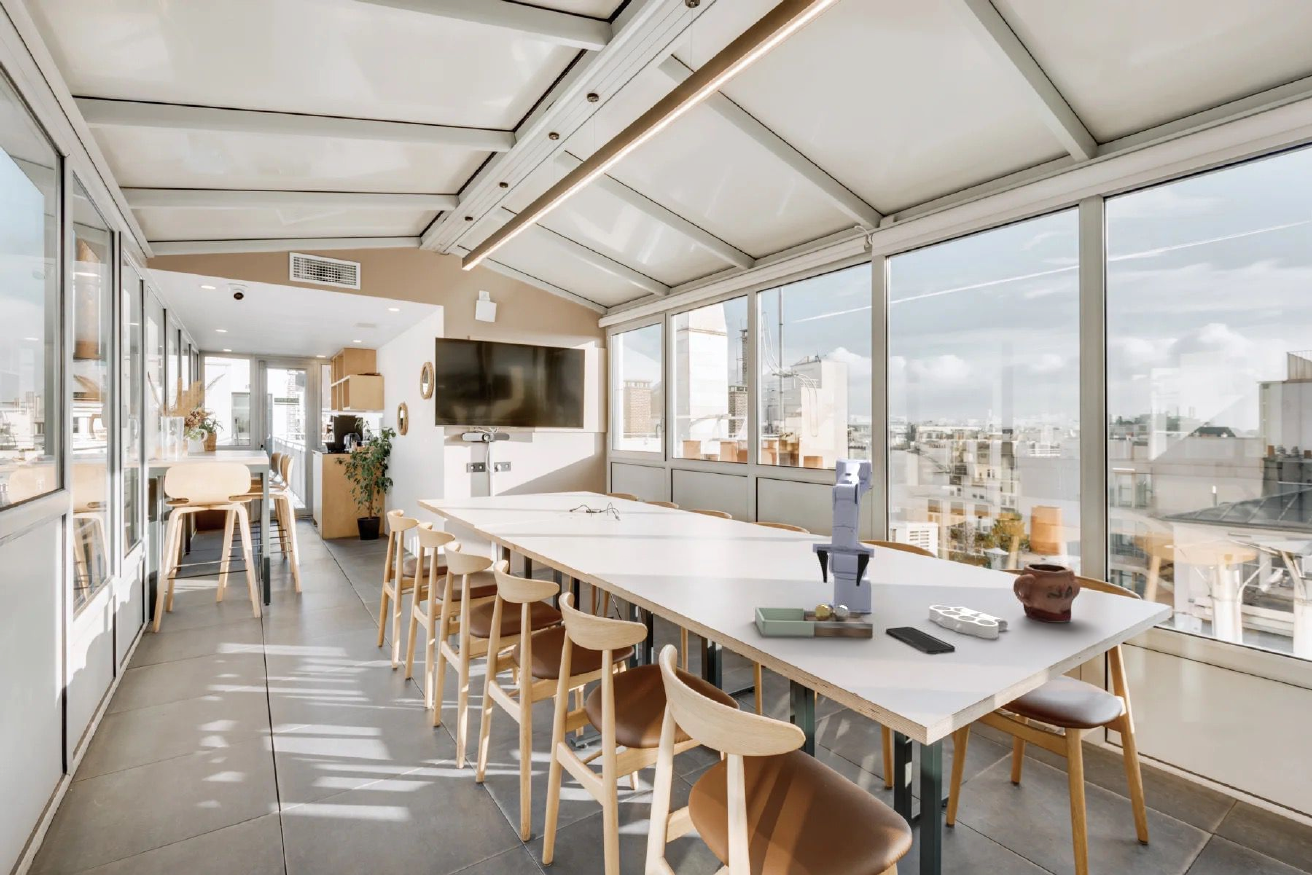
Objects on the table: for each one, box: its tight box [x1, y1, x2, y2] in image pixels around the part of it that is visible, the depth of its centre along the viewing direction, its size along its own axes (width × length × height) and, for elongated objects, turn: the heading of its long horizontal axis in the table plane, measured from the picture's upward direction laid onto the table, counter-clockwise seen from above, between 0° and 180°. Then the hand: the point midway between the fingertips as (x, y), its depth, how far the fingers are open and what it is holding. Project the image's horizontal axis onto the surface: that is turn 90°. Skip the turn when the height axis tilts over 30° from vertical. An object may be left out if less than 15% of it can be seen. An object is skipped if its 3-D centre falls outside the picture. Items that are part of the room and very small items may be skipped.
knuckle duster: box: [928, 604, 1008, 640], centre depth 152 cm, size 3×18×15 cm
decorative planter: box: [1012, 563, 1081, 623], centre depth 158 cm, size 20×12×14 cm, turn 112°
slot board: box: [803, 609, 874, 638], centre depth 147 cm, size 14×10×3 cm
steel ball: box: [832, 605, 850, 622], centre depth 147 cm, size 4×4×4 cm
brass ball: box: [813, 604, 832, 621], centre depth 147 cm, size 4×4×4 cm
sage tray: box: [754, 606, 815, 638], centre depth 147 cm, size 12×12×4 cm
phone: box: [885, 626, 956, 655], centre depth 140 cm, size 8×1×15 cm
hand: (841, 583), depth 147 cm, fingers open, 7 cm apart
